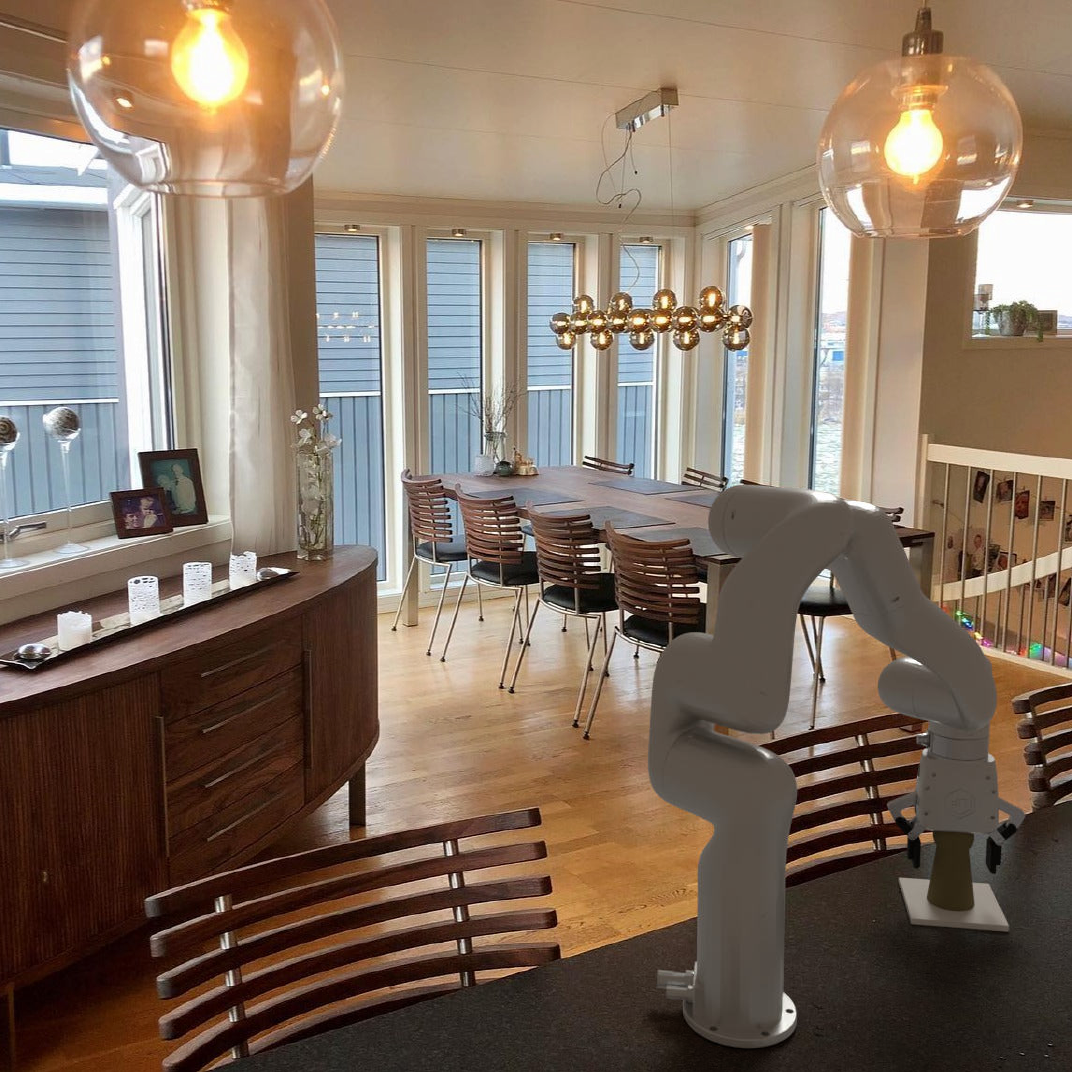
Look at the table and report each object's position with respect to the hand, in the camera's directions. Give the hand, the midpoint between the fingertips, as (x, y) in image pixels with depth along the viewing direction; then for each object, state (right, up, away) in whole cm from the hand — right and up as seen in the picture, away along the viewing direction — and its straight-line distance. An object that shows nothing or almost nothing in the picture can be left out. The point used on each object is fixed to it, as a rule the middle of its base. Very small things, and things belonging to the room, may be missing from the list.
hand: (952, 866), depth 146 cm
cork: (0, -5, +1) cm, 5 cm away
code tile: (0, -6, +1) cm, 6 cm away
